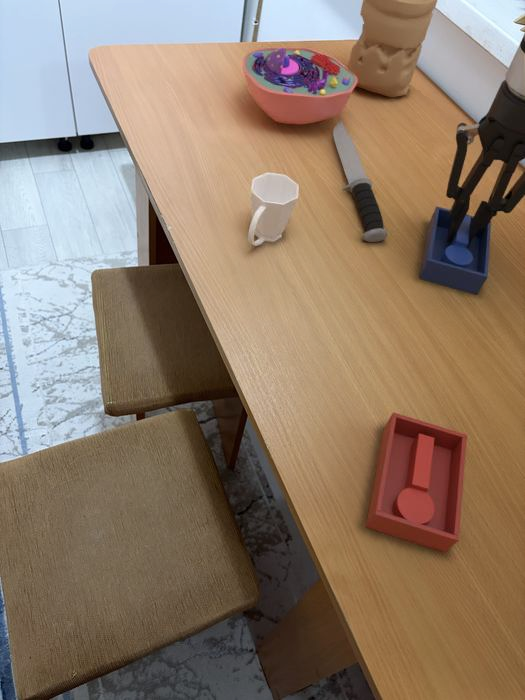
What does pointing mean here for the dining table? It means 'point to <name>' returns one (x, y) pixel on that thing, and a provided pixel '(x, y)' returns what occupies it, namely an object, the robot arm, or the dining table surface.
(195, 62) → the dining table surface
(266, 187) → the cup
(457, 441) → the red bin
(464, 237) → the blue spoon
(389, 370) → the dining table surface
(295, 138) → the dining table surface
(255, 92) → the cell model
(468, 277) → the blue bin
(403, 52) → the container
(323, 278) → the dining table surface
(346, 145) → the knife
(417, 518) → the red spoon
